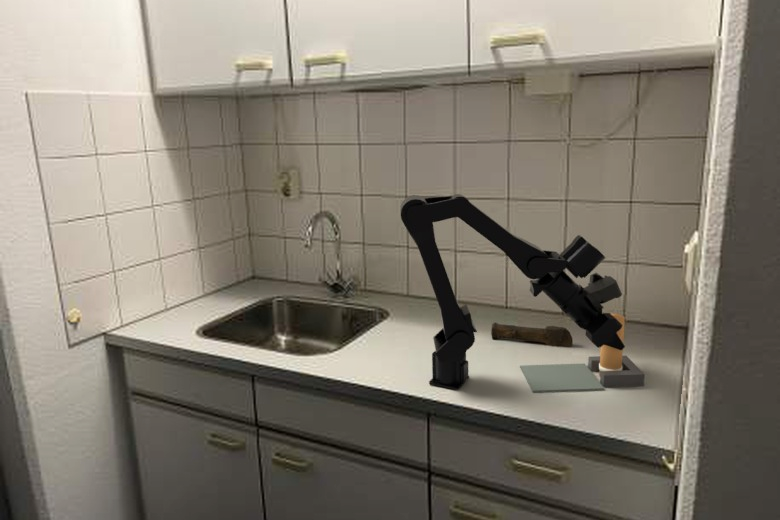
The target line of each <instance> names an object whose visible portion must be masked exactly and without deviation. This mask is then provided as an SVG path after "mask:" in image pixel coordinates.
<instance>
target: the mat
mask: <svg viewBox="0 0 780 520" xmlns="http://www.w3.org/2000/svg"><path fill="white" fill-rule="evenodd" d="M519 369H520V371H521V372H522V374H523V376H524V378H525V380H526V382H527V384H528V386H529V388H530V389H531V391H532V393H555V392H557V393H559V392H561V393H562V392H588V391H593V392H594V391H605V387H603V386H602V385H601V383H600V380H599V379H598V378H597V376H595V374H594V373H593V371H590V369H589V368H588V365H587V364H586V363H559V364H557V363H556V364H530V365H529V364H528V365H527V364H526V365H525V364H524V365H519Z"/></svg>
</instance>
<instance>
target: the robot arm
mask: <svg viewBox="0 0 780 520" xmlns="http://www.w3.org/2000/svg"><path fill="white" fill-rule="evenodd" d="M399 207H400V209H399V212H400V219H401V221H402V223H403V225H404V227H405V229H406V230H407V232H408V234H409V235H410V237H411V239H412V241H414V243H415V245H416V247H417V248H418V251H419V253H420V256H421V260H422V262H423V264H424V267H425V271H426V273H427V275H428V278H429V281H430V284H431V287H432V289H433V292H434V295H435V297H436V300H437V304H438V305H439V310H440V318H441V324H442V328H441V329H440V330H439V331H438V332H437V333H436V334H435V335H434V336H433V338H432V339H433V343H434V349H435V351H433V352H432V354H431V357H432V358H431V363H432V365H431V366H432V367H431V370H432V371H431V372H432V378H431V379H430V380H429V381H428V384H429V385H430V386H431V385H432V386H436V387H440V388H441V387H442V388H446V389H449V390H459V389H460V388H462V386H464V384H465V383H466V382H467V381H468V380H469V378H470V375H469V361H468V360H467V351H468V350H470V349H471V348H472V346H473V345H474V343H475V341H476V338H475V333H477V332H478V330H477V329H476V325H475V323H474V320H473V318H472V315H471V311H470V310H469V307H468V305H467V304H463V305H462V306H461V305H460V304H459V302H458V300H457V297H456V296H455V293H454V289H453V286H452V285H451V282H450V278H449V275H448V273H447V270H446V267H445V264H444V262H443V258H442V256H441V254H440V251H439V247H438V245H437V241H436V237H435V229H434V223H437V222H441V221H446V220H450V219H455V218H458V219H460V220H461V221H462V222H464V223H465V224H467V225H468V226H469V227H471V228H472V230H473V229H474V231H475V232H477V233H478V234H480V235H481V236H482V237H484V238H485V239H486V240H488V241H489V242H490V243H492V244H493V245H494V246H496V247H497V248H498V249H499V250H501V251H502V252H503V253H504V254H505V255H506V257H508V258H509V259H510V261H511V262H512V263H513V264H514V265H515V266H516V267H517V268H518V269H519V271H521V273H522V274H523V275H524V276H526V277H527V278H528V279H530V280H529V284H530V286H529V287H530V288H529V292H530V293H531V295H532V296H533V297H534V298H535V297H538V296H539V295H540V294H541V293H542V292H543V293H544V294H545V295H546V296H547V297H548V298H549V299H550V300H551V301H552V302H553V303H554V304H555V305H557V307H558V308H559V309H560V310H561V311H562V312H563V313H564V314H565V315H567V316H568V318H570V319H571V320H572V321H573V322H574V323H575V324H576V325H577V326H578V327H579V328H580V329H583V330H585V336H586V338H587V339H589V341H590V342H591V343H592V344H593V345H594V346H595V347H597V348H601V347H602V346H603V345H606V346H610V347H613V348H616V349H619V350H622V349H623V350H624V349H625V347H626V345H625V344H624V341H623V342H622V341H621V339H620V338H619V336H618V335H617V332H618V331H619V330H620V329H621V328H622V324H621V323H620V322H619V321H618V320H617V319H616V318H615V317H613V316H612V315H611V314H610V312H603V309H604V307H605V306H604V305H603V304H606V303H607V302H610V301H612V300H614V299H618V298H620V297H622V296H623V293H622V291H621V288H620V286H619V283H618V282H617V280H616V279H614V278H613V277H612V276H610V275H609V276H608V275H604V276H602V275H600V274H599V273H597V272H595V273H592V272H593V271H594V270H595V269H596V268H597V267H598V266H599V265H600V264H601V263H602V262H603V261H604V260H605V259H606V256H605V255H604V254H603V253H602V252H601V251H600V250H599V249H598V248H597V247H595V246H594V245H592V244H591V243H589V242H588V241H587V240H586V239H585V238H584V237H583V235H582V236H581V235H580V234H578V235H577V236H575V238H574V239H573V240H572V242H571V243H570V244H568V246H567V247H565V248H564V249H563V251H562V252H560V253H558V251H555V250H554V251H552V250H547V249H545V250H544V249H542V248H541V247H539V246H537V245H536V244H533V243H531V242H529V241H528V240H526V239H524V238H523V237H522V238H521V237H520V236H517V235H515V234H513V233H511V232H510V231H508V230H507V229H506V228H505V227H504V226H502V225H501V224H500V223H498V222H497V221H495V220H494V219H493V218H491V216H489V215H488V214H486V213H485V212H484V211H483V210H481V209H480V208H479V207H477V206H476V205H475V204H474V203H472V201H471V202H470V201H469V199H468V198H467V197H466V195H464V194H462V193H461V194H459V193H456V194H453V195H447V196H446V195H445V196H430V197H424V196H420V195H415V194H411V195H409V196H407V197H406V198H404V199H403V200H402V202H401V203H400V206H399ZM564 270H567V271H568V272H569V273H570V274H571V275H572V276H573V277H574V278H576V279H577V278H580V279H583V278H584V279H585V278H587V276H589V274H591V273H592V274H591V275H590V276H589V283H587V285H586V286H585V287H583V286H582V285H581V284H578V283H577V282H576V281H574V280H573V278H571V276H569V275H568V274H567V273H566V272H565V271H564Z"/></svg>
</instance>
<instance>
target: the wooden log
mask: <svg viewBox="0 0 780 520" xmlns="http://www.w3.org/2000/svg"><path fill="white" fill-rule="evenodd" d="M490 331H491V333H490V334H491V338H492V340H494V339H498V340H500V339H506V340H515V341H516V340H517V341H526V342H534V343H535V342H537V343H543V344H545V346H547V347H548V346H549V347H572V346H573V337H572V334H571V331H569V329H567V328H566V327H564V326H557V325H556V326H555V325H547V326H545V328H541V327H529V326H528V327H527V326H520V325H519V326H518V325H517V326H516V325H514V324H513V325H512V324H509V325H508V324H502V323H498V322H493V323H492V324H491V330H490Z"/></svg>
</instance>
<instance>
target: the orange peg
mask: <svg viewBox="0 0 780 520" xmlns="http://www.w3.org/2000/svg"><path fill="white" fill-rule="evenodd" d="M609 313H610V312H609ZM610 314H611V315H612V316H613V317H615V318H616V319H617V320H618V321H619V322H620V323H621V324H622V328H621V329H620V330H619V331H618V332H617V335H618V336H619V338H620V339H621V341H622V342H623V343H624V338H625V337H624V335H625V334H624V333H625V321H626V317H625V316H624V315H623V314H619V313H610ZM623 353H624V348H623V349H622V350H619V349H616V348H613V347H610V346H606V345H603V346H602V347H600V363H599V370H600V371H598V372H599V373H598V376H599V377H600V373H601V371H622V356H623Z"/></svg>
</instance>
